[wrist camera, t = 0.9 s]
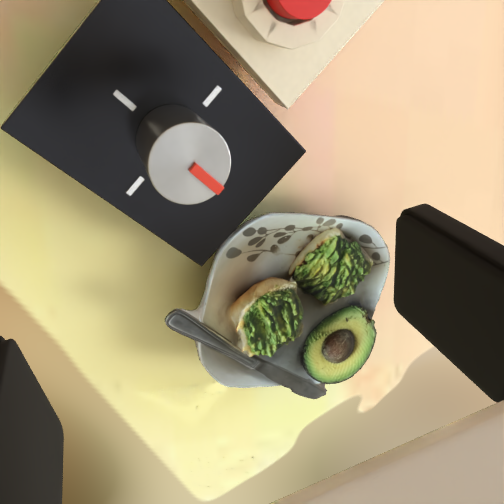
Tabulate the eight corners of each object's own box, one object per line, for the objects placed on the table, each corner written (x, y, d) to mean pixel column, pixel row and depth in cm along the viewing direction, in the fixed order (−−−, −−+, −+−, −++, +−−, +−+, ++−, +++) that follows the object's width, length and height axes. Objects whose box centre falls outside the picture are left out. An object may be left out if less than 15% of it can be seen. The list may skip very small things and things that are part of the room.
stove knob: (120, 145, 26) (130, 173, 22) (168, 87, 26) (188, 104, 21) (176, 189, 29) (195, 222, 24) (221, 137, 28) (249, 161, 24)
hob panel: (5, 118, 26) (-1, 129, 24) (125, -35, 24) (131, -39, 22) (193, 251, 34) (202, 267, 32) (291, 142, 33) (307, 152, 30)
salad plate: (144, 392, 37) (153, 432, 33) (185, 187, 32) (201, 206, 28) (335, 386, 45) (361, 417, 41) (395, 221, 40) (431, 239, 36)
